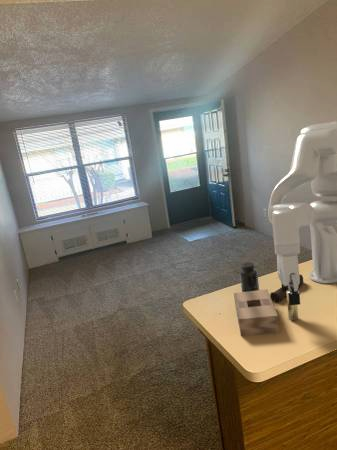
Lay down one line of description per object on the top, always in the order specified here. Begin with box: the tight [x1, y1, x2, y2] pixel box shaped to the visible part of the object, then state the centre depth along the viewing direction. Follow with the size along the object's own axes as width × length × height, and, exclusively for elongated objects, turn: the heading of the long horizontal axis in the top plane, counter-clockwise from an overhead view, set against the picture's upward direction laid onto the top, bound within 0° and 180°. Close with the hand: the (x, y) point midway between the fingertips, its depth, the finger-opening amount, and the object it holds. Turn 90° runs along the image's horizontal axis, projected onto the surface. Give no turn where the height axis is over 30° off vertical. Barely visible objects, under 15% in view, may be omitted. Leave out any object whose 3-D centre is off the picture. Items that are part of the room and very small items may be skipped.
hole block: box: [233, 289, 280, 337], centre depth 113 cm, size 12×18×6 cm, turn 174°
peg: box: [286, 290, 299, 322], centre depth 108 cm, size 3×3×10 cm
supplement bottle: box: [239, 261, 260, 292], centre depth 131 cm, size 7×7×12 cm
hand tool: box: [269, 273, 304, 303], centre depth 126 cm, size 19×4×5 cm, turn 125°
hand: (290, 297), depth 107 cm, fingers open, 9 cm apart
